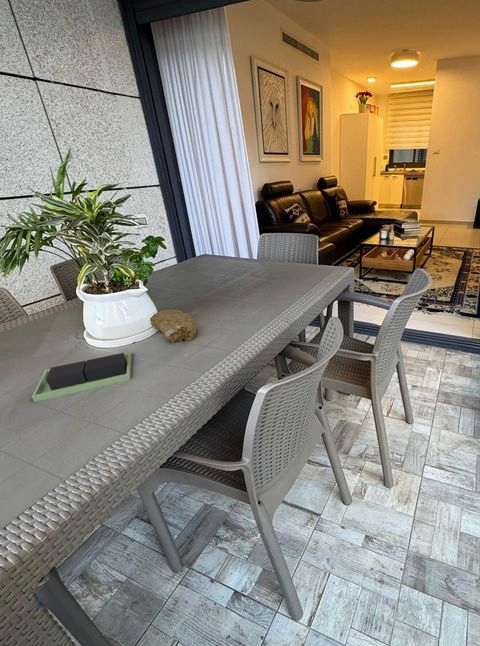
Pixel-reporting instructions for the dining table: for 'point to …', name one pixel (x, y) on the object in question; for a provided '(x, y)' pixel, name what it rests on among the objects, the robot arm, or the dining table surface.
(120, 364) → the pad
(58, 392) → the tray
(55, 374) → the pad
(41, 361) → the dining table surface
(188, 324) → the sponge
